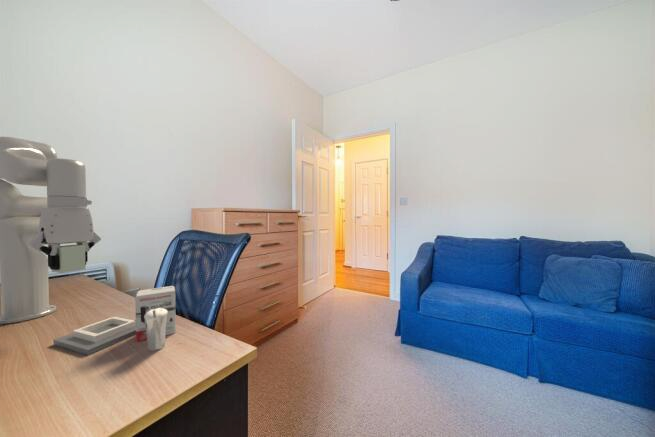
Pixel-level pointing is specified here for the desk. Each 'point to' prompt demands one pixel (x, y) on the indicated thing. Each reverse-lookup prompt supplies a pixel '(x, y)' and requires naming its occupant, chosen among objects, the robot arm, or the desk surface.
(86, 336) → the baseplate
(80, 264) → the sage block
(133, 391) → the desk surface
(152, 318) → the milkshake
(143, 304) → the ink box
